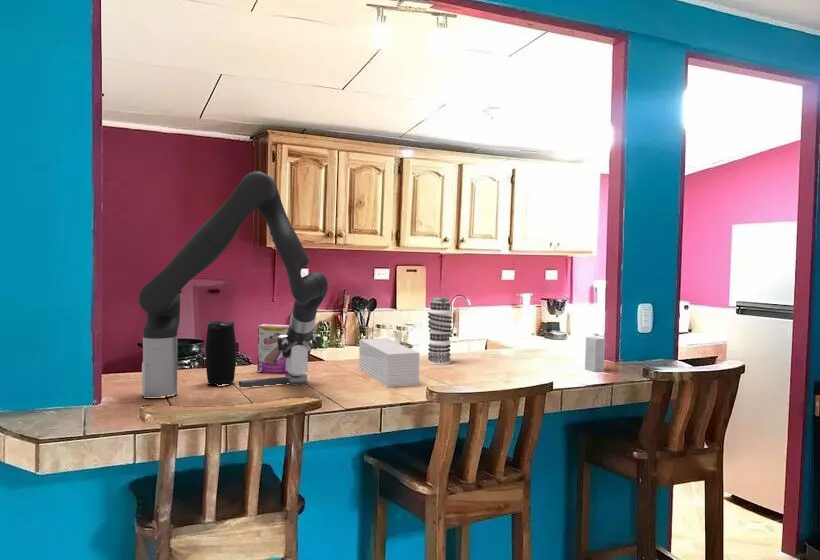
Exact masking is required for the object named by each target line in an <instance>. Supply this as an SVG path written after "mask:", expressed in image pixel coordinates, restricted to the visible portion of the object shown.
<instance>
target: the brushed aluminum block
mask: <svg viewBox="0 0 820 560" xmlns="http://www.w3.org/2000/svg"><path fill="white" fill-rule="evenodd" d="M286 340H287V339H286ZM308 356H309V355H308V350H307V348H305V346H304V345H296V346H293V347H292V348H291V349H289V350H288V354H287V358H286V371H288V372H290V373H289V374H291V373H299V372H301V373H308V372H309V371H308V364H309V363H308V361H309V359H308V358H309V357H308Z"/></svg>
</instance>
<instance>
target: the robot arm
mask: <svg viewBox="0 0 820 560" xmlns="http://www.w3.org/2000/svg"><path fill="white" fill-rule="evenodd" d="M256 209H257V210H258V211H259V212H260V214H261V215H262V217H263V219H264V220H265V222H266V225H267V227H268V229H269V232H270V235H271V237H272V240H273V245H274V247H275V249H276V251H277V253H278V255H279V257H280V259H281V261H282V263H283V265H284V267H285V269H286V274H287V277H288V282H289V288H290V292H291V295H292V297H293V298H294V303H293V308H292V313H291V315H290V320H289V324H288V325H289V329H288V333H286V335H281V334H280V333H278V334H277V344H278V350H279V351H281V350H282V355H283V356H284V358H287V354H288V350H289V349H291V348H292V347H293V346H296V345H304V346H305V348H307V350H308V356H310V355H311V351H312V350H318V348H319V346H320V343H321V341H322V333H321V331H320V332H319V331H318V332H316V333H314V329H315V325H316V320H317V318H316V317H317V313H318V308H319V307H320V305H321V304H322V302H323V300H324V299H325V297H326V295H327V294H328V293H327V292H328V288H329V283H328V279H327V277H326V276H325V274H323V273H322V272H318V271H313V272H312V273H309V274H306V275H303V276H302V269H304V268H305V267H307V266H308V265H309V263H310V258H309V256H308V254H307V253H306V250H305V247H304V246H303V244H302V242H301V241H300V238H299V236H298V235H297V233H296V231H295V229H294V227H293V226H292V224H291V221H290V220H289V217H288V215H287V213H286V211H285V208H284V206H283V202H282V199H281V196H280V192H279V189H278V186H277V183H276V181H275V180H274V179H273V178H272V177H271V176H270V175H268V174H266V173H264V172H262V171H258V170H257V171H251V172H249V173H248V174H246V175H245V176H244V177H243V178H242V179H241V180H240V181H239V183H238V185H237V186H236V187H235V189H234V190H233V191H232V193H231V194H230V195H229V196H228V198H227V199H226V201H225V202H224V203H222V205H221V206H220V207H219V208H218V209H217V210H216V211H215V212H213V214H212V215H211V216H210V217H209V218H208V219H207V220H206V221H204V223H203V224H202V225H201V226H200V227H199V228H198V229H197V230H196V231H195V233H194V234H192V235H191V237H190V238H189V239H188V241H186V243H184V245H183V246H182V247H181V248H180V249H179V251H178V252H177V253H176V254H175V256H174V257H173V258H172V260H170V262H169V263H168V264H167V265H166V266H165V267H164V268H163V269H162V270H161V271H160V272H159V273H157V275H155V276H154V277H153V278H152V279H151V280H150V281H148V282H147V283H146V284H144V286H143V287H142V288H141V290H140V292H139V295H138V303H139V307H140V308H141V309H142V311H144V312H146V313H147V317H146V321H145V324H144V326H143V328H142V363H141V395H142V394H143V395H142V396H144V397H145V398H146V397H161V396H168V395H172V394H175V393H177V394H178V329H179V326H180V321H181V320H180V317H181V314H180V313H181V296H180V292H181V291H182V290H183V288H184V287H185V286H186V285H187V284H188V283H189V282H190V281H191V280H192V279H194V278H195V277H196V276H198V275H199V274H200V273H202V272H203V271H204V270H205V269H207V268H208V267H210V265H212V264H213V263H214V262H215V261H216V260H217V259H218V258H219V257H220V256H221V255H222V254H223V253H224V252H225V250H227V249H228V247H229V245H231V243H232V242H233V240H234V238H235V236H236V234H237V233H238V230H239V229H240V227H241V225H242V224H243V222H245V220H246V219H247V218H248V217H249V216H250V214H252V213H253V211H255V210H256ZM285 339H287V340H286V342H285V343H284V344H282V343H283V341H284V340H285ZM311 340H313V341H312V342H311ZM144 397H143V398H144ZM145 398H144V399H145Z"/></svg>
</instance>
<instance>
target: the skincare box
mask: <svg viewBox="0 0 820 560" xmlns="http://www.w3.org/2000/svg"><path fill="white" fill-rule="evenodd" d="M605 344H606V343H605V338H603V337H602V338H601V337H597V336H586V337H585V354H584V355H585V356H584V357H585V359H584V369H585V370H588V371H591V372H597V373H598V372H604V371H605Z"/></svg>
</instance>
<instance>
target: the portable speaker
mask: <svg viewBox="0 0 820 560" xmlns="http://www.w3.org/2000/svg"><path fill="white" fill-rule="evenodd" d="M205 338H206V339H205V368H206V379H207V384H208V383H211V384H215V385H216V386H217V384H218V385H222V384H230V383H231V382H232V381H233V382H234V381H235V372H236V365H237V354H236V353H237V350H236V349H237V345H236V344H237V343H236V333H235V323H234V322H233V321H230V322H227V321H220V320H219V321H218V320H216V321H215V320H214V321H210V322H209V323H208V325H207V330H206V337H205ZM233 382H232V383H233ZM232 383H231V384H232ZM231 384H230V385H231Z"/></svg>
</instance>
